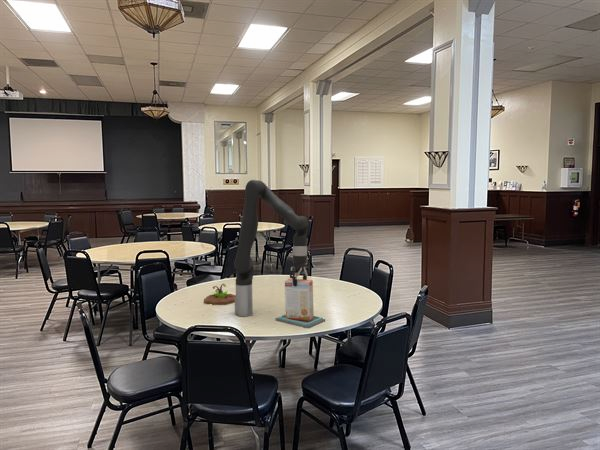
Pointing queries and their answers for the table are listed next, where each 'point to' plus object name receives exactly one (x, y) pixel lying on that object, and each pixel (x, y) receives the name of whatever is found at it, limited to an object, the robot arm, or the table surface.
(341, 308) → the table surface
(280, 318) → the baseplate
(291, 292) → the cracker box
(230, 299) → the plant
